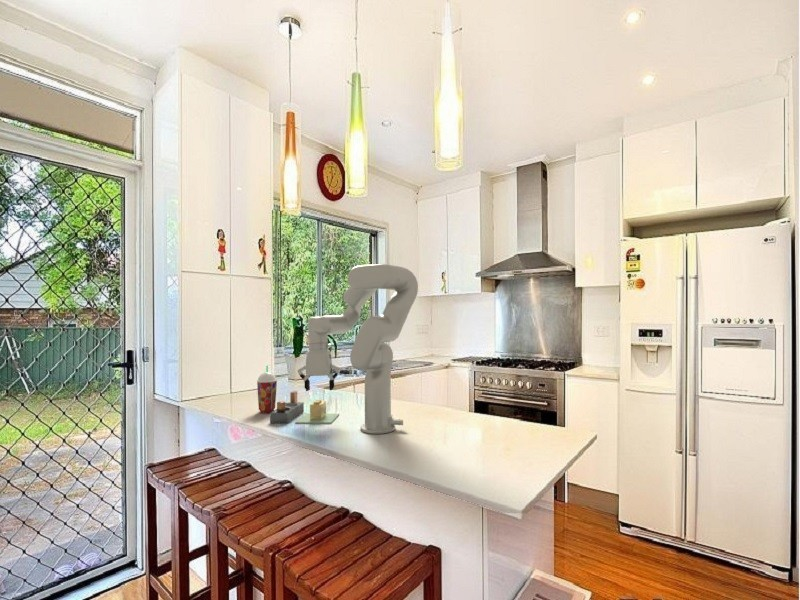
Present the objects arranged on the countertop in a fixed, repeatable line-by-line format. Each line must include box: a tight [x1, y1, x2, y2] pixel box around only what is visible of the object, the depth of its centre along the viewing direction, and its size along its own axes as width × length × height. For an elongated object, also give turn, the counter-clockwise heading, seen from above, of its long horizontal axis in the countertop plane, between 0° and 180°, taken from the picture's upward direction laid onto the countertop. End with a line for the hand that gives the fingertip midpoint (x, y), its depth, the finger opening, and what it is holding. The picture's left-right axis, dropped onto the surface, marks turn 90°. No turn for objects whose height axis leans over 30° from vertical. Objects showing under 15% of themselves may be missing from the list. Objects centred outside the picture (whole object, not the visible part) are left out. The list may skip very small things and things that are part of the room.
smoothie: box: [256, 365, 278, 414], centre depth 177 cm, size 8×8×20 cm
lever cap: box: [309, 399, 327, 420], centre depth 163 cm, size 4×7×7 cm, turn 176°
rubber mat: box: [295, 413, 340, 425], centre depth 163 cm, size 14×14×1 cm
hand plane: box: [269, 390, 305, 425], centre depth 167 cm, size 7×20×9 cm, turn 176°
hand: (319, 390), depth 163 cm, fingers open, 9 cm apart
